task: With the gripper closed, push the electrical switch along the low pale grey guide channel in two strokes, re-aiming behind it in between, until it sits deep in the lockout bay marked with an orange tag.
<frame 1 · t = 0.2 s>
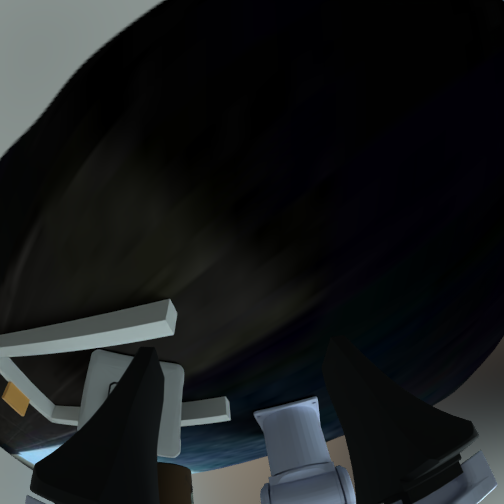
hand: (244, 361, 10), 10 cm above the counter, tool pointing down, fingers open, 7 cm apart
olive oil: (168, 467, 40), on the counter
electrical switch: (141, 370, 24), on the counter
lockout bay: (88, 377, 24), on the counter
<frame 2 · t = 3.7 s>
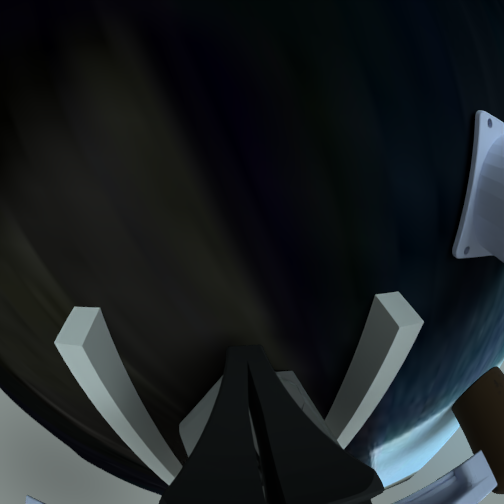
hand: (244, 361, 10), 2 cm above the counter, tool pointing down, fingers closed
olive oil: (475, 387, 25), on the counter
electrical switch: (243, 396, 15), on the counter
lockout bay: (243, 440, 18), on the counter
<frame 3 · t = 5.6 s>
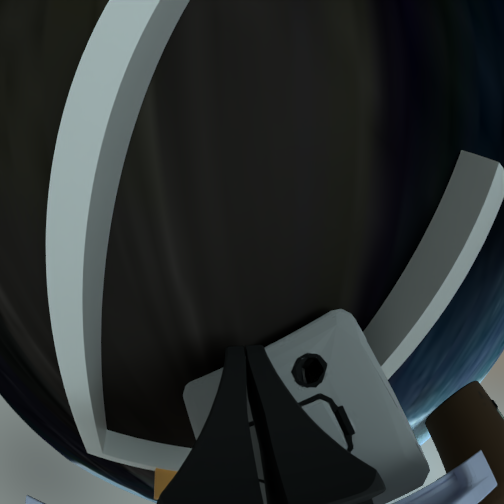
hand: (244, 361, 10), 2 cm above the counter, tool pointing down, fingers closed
olive oil: (452, 402, 25), on the counter
electrical switch: (281, 362, 14), on the counter
lockout bay: (225, 362, 13), on the counter
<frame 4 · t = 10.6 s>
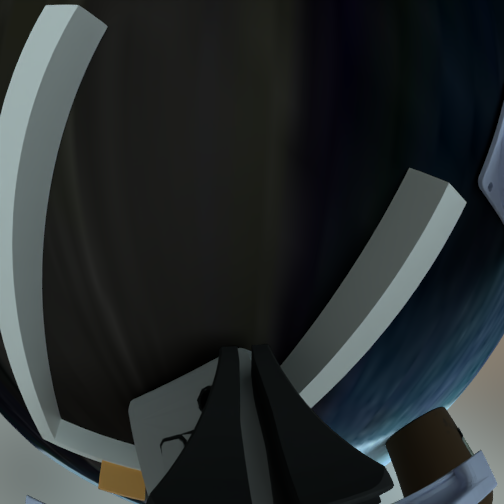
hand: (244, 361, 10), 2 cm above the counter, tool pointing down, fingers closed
olive oil: (415, 426, 25), on the counter
electrical switch: (211, 389, 14), on the counter, touching gripper, lockout bay
lockout bay: (149, 368, 13), on the counter
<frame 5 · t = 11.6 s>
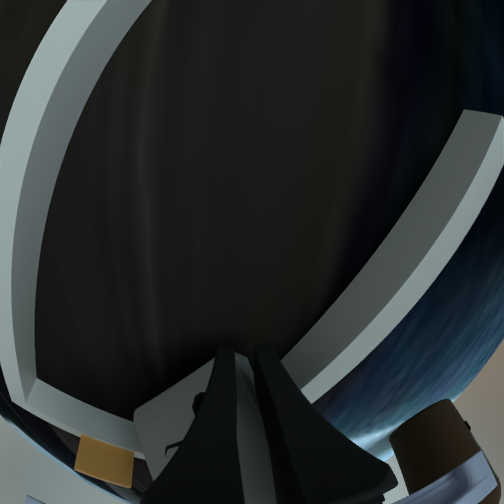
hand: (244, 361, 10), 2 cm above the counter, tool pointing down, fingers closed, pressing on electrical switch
olive oil: (420, 419, 24), on the counter
electrical switch: (209, 391, 14), on the counter, touching gripper, lockout bay
lockout bay: (174, 295, 11), on the counter
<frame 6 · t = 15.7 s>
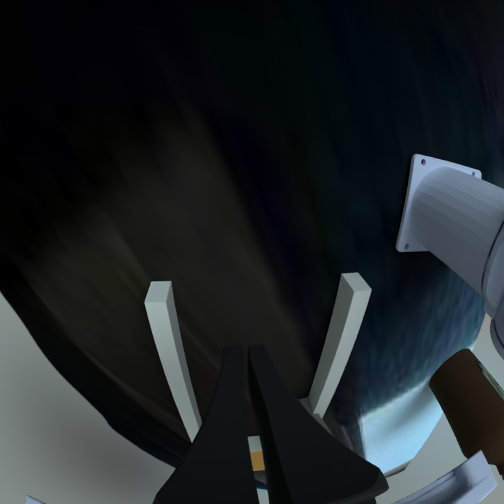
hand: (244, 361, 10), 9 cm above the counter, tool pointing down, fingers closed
olive oil: (449, 367, 33), on the counter
lockout bay: (254, 390, 26), on the counter
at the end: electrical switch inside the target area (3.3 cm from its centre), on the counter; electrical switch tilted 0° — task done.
